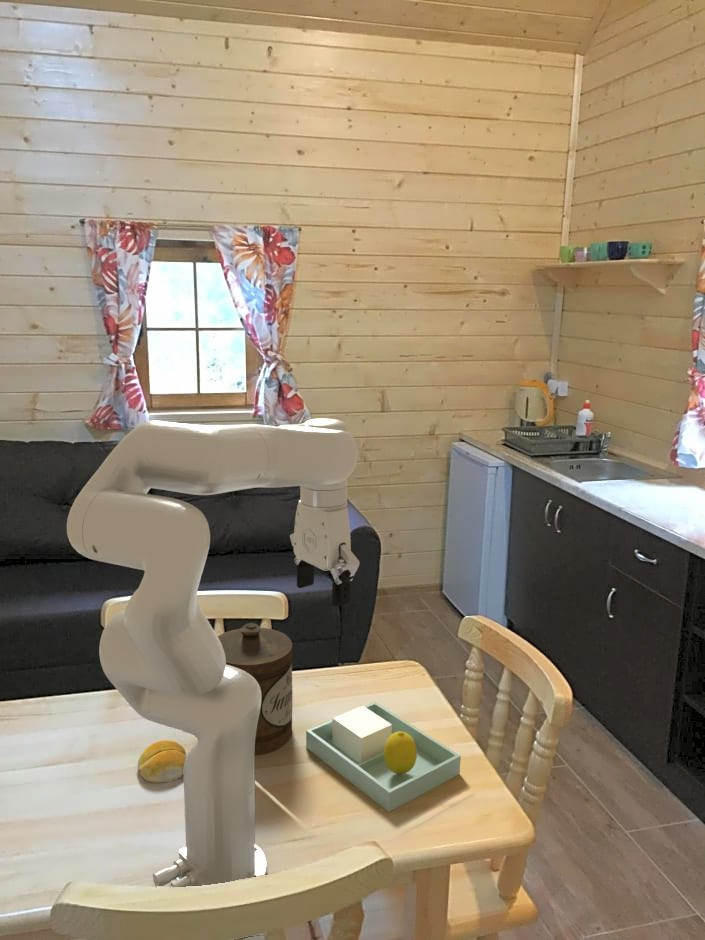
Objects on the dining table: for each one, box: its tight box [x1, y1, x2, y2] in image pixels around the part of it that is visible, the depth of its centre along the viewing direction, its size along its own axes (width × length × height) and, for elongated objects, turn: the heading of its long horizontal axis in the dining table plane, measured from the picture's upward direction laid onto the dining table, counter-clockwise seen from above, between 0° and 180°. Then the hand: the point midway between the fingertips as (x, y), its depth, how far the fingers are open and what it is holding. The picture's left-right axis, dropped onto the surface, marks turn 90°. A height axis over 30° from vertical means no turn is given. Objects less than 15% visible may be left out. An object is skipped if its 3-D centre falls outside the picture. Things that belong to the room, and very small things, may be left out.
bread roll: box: [137, 739, 187, 784], centre depth 136 cm, size 8×9×4 cm
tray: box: [305, 701, 462, 813], centre depth 138 cm, size 16×22×4 cm
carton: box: [331, 705, 392, 763], centre depth 142 cm, size 7×8×5 cm
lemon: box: [384, 731, 417, 775], centre depth 134 cm, size 6×6×8 cm
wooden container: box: [217, 622, 293, 757], centre depth 144 cm, size 15×15×22 cm
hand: (322, 594), depth 133 cm, fingers open, 9 cm apart
